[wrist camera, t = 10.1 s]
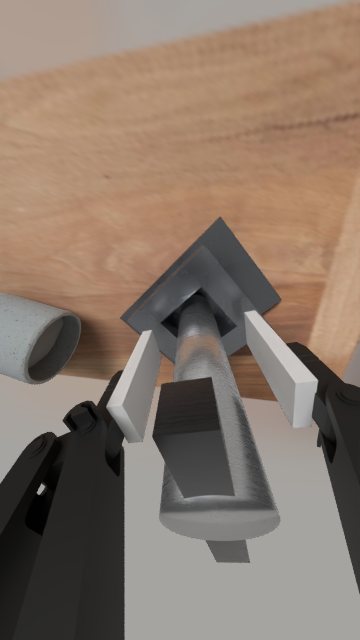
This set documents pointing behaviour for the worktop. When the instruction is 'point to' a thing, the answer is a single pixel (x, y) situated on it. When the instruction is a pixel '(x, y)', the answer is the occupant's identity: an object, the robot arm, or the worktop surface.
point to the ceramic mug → (35, 339)
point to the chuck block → (205, 291)
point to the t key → (209, 445)
